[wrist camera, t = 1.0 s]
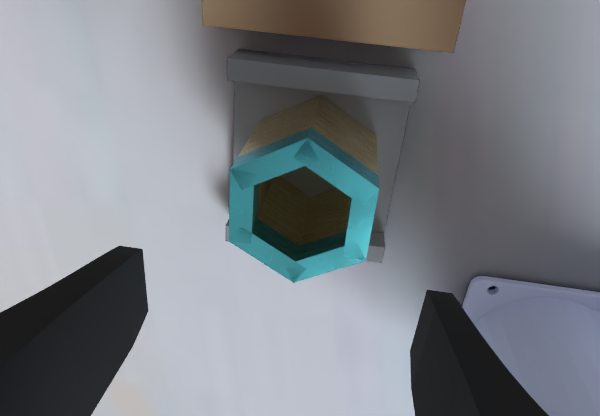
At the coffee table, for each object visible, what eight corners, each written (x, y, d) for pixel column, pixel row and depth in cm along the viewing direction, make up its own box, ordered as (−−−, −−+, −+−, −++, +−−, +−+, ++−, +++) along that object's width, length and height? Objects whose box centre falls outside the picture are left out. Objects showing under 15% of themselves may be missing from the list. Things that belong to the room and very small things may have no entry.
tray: (415, 69, 18) (419, 80, 17) (380, 240, 22) (381, 262, 21) (238, 49, 19) (227, 58, 17) (235, 220, 23) (225, 240, 21)
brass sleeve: (382, 100, 19) (387, 147, 14) (361, 221, 21) (359, 292, 17) (261, 86, 19) (230, 128, 15) (256, 207, 22) (228, 273, 17)
